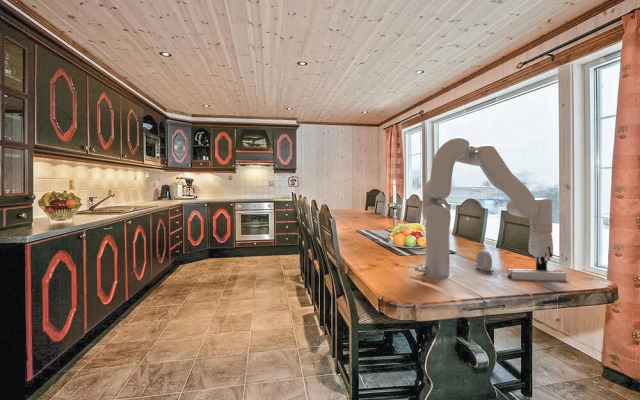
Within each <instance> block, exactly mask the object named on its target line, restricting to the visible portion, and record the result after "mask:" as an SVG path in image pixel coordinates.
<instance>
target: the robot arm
mask: <svg viewBox="0 0 640 400" xmlns="http://www.w3.org/2000/svg"><path fill="white" fill-rule="evenodd" d="M455 163H461V164H465V165H470V166H474V167H475V166H476V167H479V168H480V170H482V173H484V175H485V177H486V178H487V180H488V181H489V183H490V184H491V185H492V186H493V187H495V189H498V190H500V191H501V192H502V193H504V194H505V195H506V196H507V198H509V200H508V202H507V203H506V206H505V207H506V211H507V212H508V213H509V214H510V215H512V216H515V217H520V218H524V219H525V218H526V219H528V218H529V237H528V253H529V254H530V255H532V256H533V258H534V259H535V267H536V268H535V270H548V262H551V258H553V257H554V242H553V235H552V233H553V202H552V199H550V198H547V197H537V198H535V197H534V194H532V192H531V191H530V189H529V188H528V187H527V186H526V185H525V184H524V183H523V182H522V181H521V180H520V179H519V178H518V177H517V176H516V175H514V174H513V172H512V171H511V170H510V169H509V166H507V164H506V162H505V161H504V159H503V158H502V157H501V155H500V153H499V152H498V150H497V149H496V148H495V146H493V145H491V144H488V143H487V144H482V145H478V146H477V145H472V144H470V141H469V140H468V139H467V138H466V137H464V136H455V137H453V138H451V139H450V140H448V141H446V142H444V143H443V144H442V145H441V146H440V147H439V148H438V149H437V151H436V152H435V154H434V155H433V159H432V163H431V170H430V177H429V178H430V179H429V180H428V181H427V182H426V183H425V185H424V188H423V189H424V190H423V198H422V212H421V213H422V217H423V218H424V220H425V222H426V223H425V263H423V265H422V266H416V265H415V266H414V271H415V272H418V273H421V274H422V275H423V276H425V277H428V278H434V279H446V278H447V279H449V278H452V277H454V274H453V273H452V272H450V229H451V222H452V221H451V218H452V217H451V216H452V214H451V211H450V209H449V207H447V205H446V204H445V203H446V202H445V201H446V199H447V198H449V197H450V195H451V192H452V180H453V172H454V167H455Z"/></svg>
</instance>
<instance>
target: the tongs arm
mask: <svg viewBox="0 0 640 400" xmlns="http://www.w3.org/2000/svg"><path fill="white" fill-rule="evenodd" d="M506 271H507V272H506V273H507V277H512V271H544V272H564V270H561V269H547V270H536V269H534V268H533V269H530V268H528V269H526V268H507V269H506ZM507 277H506V278H507Z"/></svg>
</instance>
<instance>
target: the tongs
mask: <svg viewBox="0 0 640 400" xmlns="http://www.w3.org/2000/svg"><path fill="white" fill-rule="evenodd" d="M499 274H501V276H503V277H505V278H507V279H509V280H510V281H511V282H514V281H515V282H516V281H517V282H540V283H541V282H545V283H546V282H548V283H549V282H550V283H570V281H569V280H567V272H564V271H563V272H544V271H512V277H507V272H500V271H499Z"/></svg>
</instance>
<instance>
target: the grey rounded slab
mask: <svg viewBox="0 0 640 400" xmlns="http://www.w3.org/2000/svg"><path fill="white" fill-rule="evenodd" d="M475 259H476V260H475V261H476V265H477V268H478V269H479V270H480V271H483V272H489V271H490V270H491V269H492V267H493V258H492V255H491V253H490V252H489V251H488V250H487V249H480V250H479V251H478V252H477V253H476V258H475Z"/></svg>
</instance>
